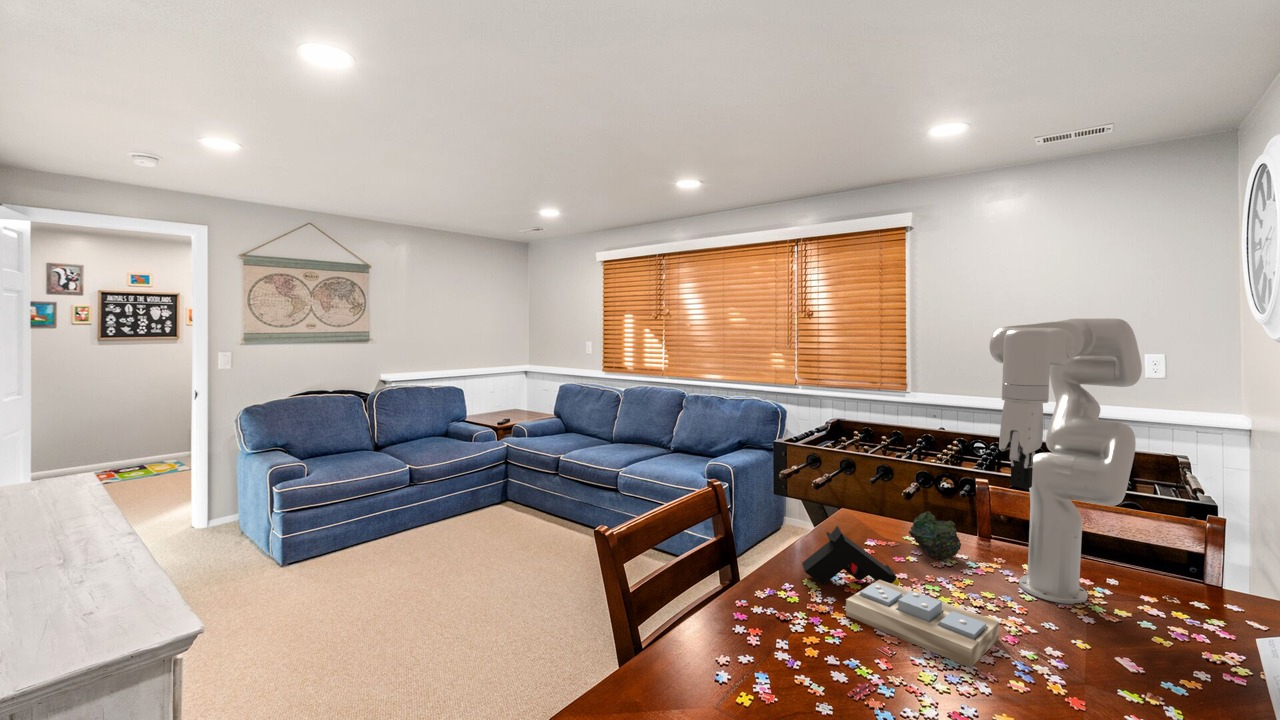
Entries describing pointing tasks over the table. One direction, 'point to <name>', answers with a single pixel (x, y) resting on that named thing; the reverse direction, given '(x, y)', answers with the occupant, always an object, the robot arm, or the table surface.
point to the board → (924, 627)
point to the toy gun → (845, 561)
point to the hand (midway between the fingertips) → (1021, 486)
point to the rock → (935, 536)
